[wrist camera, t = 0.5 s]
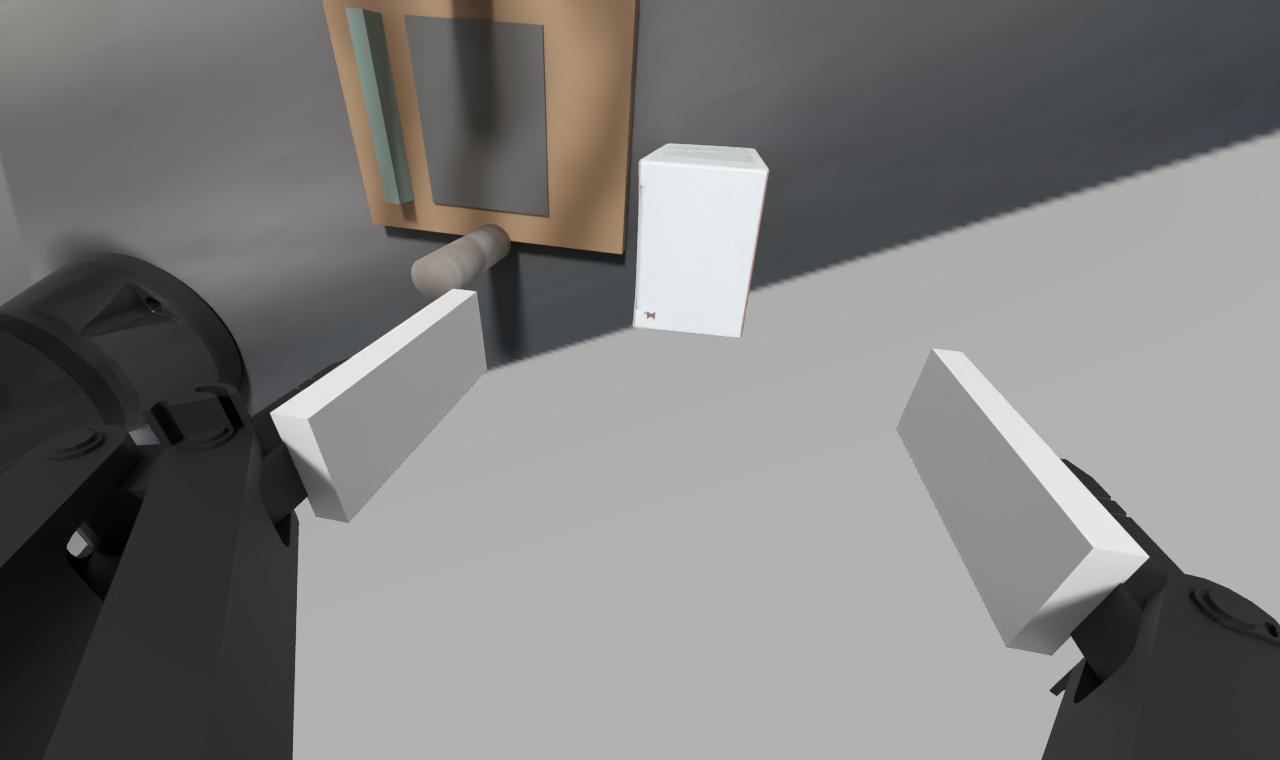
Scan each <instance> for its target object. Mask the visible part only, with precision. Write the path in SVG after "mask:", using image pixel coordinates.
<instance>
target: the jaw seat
mask: <svg viewBox="0 0 1280 760" xmlns="http://www.w3.org/2000/svg"><path fill="white" fill-rule="evenodd" d="M322 1H323V6H324V10H325V15H326V19H327V23H328V28H329V32H330V37H331V41H332V46H333V50H334V54H335V59H336V63H337V68H338V72H339V76H340V81H341V85H342V90H343V94H344V98H345V103H346V107H347V112H348V116H349V120H350V125H351V129H352V134H353V138H354V143H355V147H356V151H357V156H358V160H359V165H360V169H361V173H362V178H363V182H364V187H365V191H366V195H367V200H368V204H369V209H370V213H371V217H372V222H373V224H376V225H384V226H392V227H400V228H409V229H417V230H425V231H434V232H442V233H450V234H458V235H465V236H463V237H461V238H459V239H457V240H455V241H454V242H452V243H450V244H448V245H446V246H444V247H442V248H440V249H438V250H436V251H434V252H432V253H430V254H429V255H427V256H425V257H423V258H421V259H419V260H417V261H416V262H415V263H414V264H413V266H412V270H411V275H412V280H413V283H414V285H415V286H416V288H417V289H418V290H419V291H420V292H421V293H422V294H423V295H424V296H426V297H427V298H430V299H432V300H437V299H438V298H440V297H441V296H443V295H444V294H446V293H447V292H449V291H450V290H452V289H461V288H462V287H463V286H465V285H466V284H468V283H469V282H470V281H472V280H473V279H475V278H476V277H477V276H479V275H480V274H482V273H483V272H485V271H486V270H487V269H489V268H490V267H492V266H493V265H494V264H496V263H497V262H499V261H500V260H501V259H503V258H504V257H506V256H507V255H508V254H509V252H510V249H511V241H516V242H525V243H533V244H541V245H549V246H558V247H566V248H574V249H583V250H591V251H599V252H607V253H616V254H622V253H623V252H624V251H625V245H626V228H627V210H628V192H629V174H630V157H631V139H632V121H633V103H634V86H635V68H636V50H637V32H638V15H639V0H322Z"/></svg>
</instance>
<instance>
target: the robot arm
mask: <svg viewBox="0 0 1280 760" xmlns="http://www.w3.org/2000/svg"><path fill="white" fill-rule="evenodd" d="M486 370H487V366H486V359H485V351H484V344H483V336H482V328H481V321H480V313H479V306H478V298H477V292H475V291H467V290H459V289H452V290H450V291H449V292H447V293H446V294H444V295H443V296H441V297H440V298H438V299H437V300H436V301H434V302H433V303H431V304H430V305H428V306H427V307H425V308H424V309H422V310H421V311H419V312H418V313H416V314H415V315H413V316H412V317H410V318H409V319H408V320H406V321H405V322H403V323H402V324H400V325H399V326H397V327H396V328H394V329H393V330H391V331H390V332H388V333H387V334H385V335H384V336H382V337H381V338H380V339H378V340H377V341H375V342H374V343H372V344H371V345H369V346H368V347H366V348H365V349H363V350H362V351H360V352H359V353H357V354H356V355H354V356H353V357H350V358H348V359H345V360H342V361H340V362H337V363H335V364H332V365H330V366H328V367H326V368H325V369H323V370H322V371H320V372H319V373H317V374H316V375H314V376H313V377H312V380H311V379H308V380H307V381H305V382H304V383H302V384H301V385H299V386H298V389H293V390H292V391H290V392H289V393H287V394H286V395H284V396H283V397H281V398H280V399H278V400H277V401H275V402H274V403H272V404H271V405H269V406H268V407H266V408H264V409H263V410H261V411H260V412H258V413H257V414H255V415H254V416H252V417H251V418H250V416H249V414H248V412H247V410H246V408H245V406H244V404H243V402H242V400H241V397H240V395H239V393H238V391H237V390H238V388H239V386H240V383H241V379H242V366H241V361H240V357H239V354H238V351H237V349H236V346H235V344H234V342H233V340H232V338H231V336H230V334H229V333H228V331H227V330H226V328H225V327H224V325H223V324H222V322H221V321H220V320H219V318H218V317H217V316H216V315H215V313H214V312H213V311H212V310H211V309H210V308H209V307H208V305H207V304H206V303H205V302H204V301H203V300H202V299H201V298H199V297H198V296H197V295H196V294H195V293H194V292H193V291H192V290H190V289H189V288H188V287H187V286H186V285H184V284H183V283H182V282H180V281H179V280H177V279H176V278H174V277H173V276H172V275H170V274H168V273H167V272H165V271H163V270H161V269H160V268H158V267H156V266H154V265H152V264H150V263H147V262H145V261H142V260H140V259H137V258H134V257H130V256H126V255H120V254H103V255H98V256H94V257H90V258H86V259H82V260H78V261H74V262H71V263H68V264H66V265H64V266H62V267H60V268H58V269H57V270H55V271H54V272H52V273H51V274H49V275H48V276H46V277H44V278H43V279H41V280H40V281H38V282H37V283H35V284H34V285H32V286H30V287H29V288H27V289H26V290H24V291H23V292H21V293H20V294H18V295H17V296H15V297H14V298H12V299H10V300H9V301H7V302H6V303H4V304H3V305H1V306H0V760H292V757H293V756H292V755H293V720H294V683H295V646H296V609H297V570H298V534H299V521H298V518H297V515H296V513H295V511H294V509H295V508H296V507H297V506H298V505H299V504H300V503H301V502H302V501H303V500H304V499H305V498H306V497H308V500H309V502H310V504H311V506H312V508H313V511H314V513H315V515H316V517H321V518H326V519H332V520H337V521H342V522H347V523H349V522H350V521H351V520H352V518H353V517H354V516H355V515H356V514H357V513H358V512H359V511H360V509H361V508H362V507H363V506H364V505H365V504H366V503H367V502H368V501H369V500H370V498H371V497H372V496H373V495H374V494H375V493H376V492H377V490H379V488H380V487H381V486H382V485H383V484H384V483H385V482H386V481H387V480H388V478H389V477H390V476H391V475H392V474H393V473H394V472H395V471H396V470H397V469H398V468H399V466H400V465H401V464H402V463H403V462H404V461H405V460H406V458H408V456H409V455H410V454H411V453H412V452H413V451H414V450H415V449H416V448H417V446H418V445H419V444H420V443H421V442H422V441H423V440H424V439H425V438H426V437H427V435H428V434H429V433H430V432H431V431H432V430H433V429H434V428H435V427H436V426H437V424H438V423H439V422H440V421H441V420H442V419H443V418H444V417H445V416H446V414H447V413H448V412H449V411H450V410H451V409H452V408H453V407H454V406H455V404H456V403H457V402H458V401H459V400H460V399H461V398H462V397H463V396H464V395H465V393H466V392H467V391H468V390H469V389H470V388H471V386H473V385H474V383H475V382H476V381H477V380H478V379H479V378H480V377H481V376H482V375H483V374H484V372H485V371H486ZM146 427H151V429H152V430H153V432H154V433H155V435H156V437H157V438H158V440H159V441H160V443H161V444H155V445H138V446H137V445H136V443H135V442H134V440H133V439H132V437H131V436H130V434H129V433H128V432H131V431H135V430H138V429H142V428H146ZM897 431H898V433H899V435H900V437H901V439H902V441H903V443H904V445H905V447H906V449H907V451H908V453H909V455H910V457H911V458H912V461H913V463H914V465H915V467H916V469H917V471H918V473H919V475H920V477H921V479H922V481H923V483H924V484H925V487H926V488H927V490H928V492H929V494H930V496H931V499H932V501H933V502H934V504H935V507H936V508H937V510H938V512H939V514H940V516H941V518H942V520H943V522H944V524H945V526H946V528H947V530H948V532H949V534H950V536H951V538H952V540H953V542H954V544H955V546H956V548H957V550H958V552H959V554H960V556H961V558H962V560H963V562H964V564H965V566H966V568H967V570H968V572H969V574H970V576H971V577H972V580H973V582H974V584H975V586H976V588H977V590H978V592H979V594H980V596H981V598H982V600H983V602H984V604H985V606H986V608H987V610H988V612H989V614H990V616H991V618H992V620H993V622H994V624H995V626H996V627H997V630H998V632H999V634H1000V635H1001V638H1002V639H1003V641H1004V643H1005V645H1006V647H1009V648H1015V649H1020V650H1025V651H1031V652H1036V653H1041V654H1047V655H1053V654H1054V653H1055V652H1056V651H1057V649H1059V647H1060V646H1061V645H1063V644H1064V643H1065V641H1067V640H1068V639H1069V638H1070V637H1071V636H1072V638H1073V640H1074V641H1075V643H1076V644H1077V646H1078V648H1079V649H1080V651H1081V652H1082V654H1083V655H1084V658H1083V659H1082V660H1081V661H1080V662H1079V663H1078V664H1077V665H1076V666H1074V667H1073V668H1072V669H1071V670H1070V671H1069V672H1068V673H1067V674H1066V675H1065V676H1064V677H1063V678H1062V679H1061V680H1060V681H1058V682H1057V683H1056V684H1055V685H1054V686H1053V687H1052V688H1051V690H1050V692H1052V693H1053V694H1055V695H1056V696H1057V695H1059V694H1060V693H1061V692H1062V691H1063V690H1065V693H1064V696H1063V699H1062V702H1061V704H1060V707H1059V711H1058V713H1057V716H1056V719H1055V722H1054V725H1053V728H1052V731H1051V734H1050V737H1049V740H1048V742H1047V745H1046V748H1045V751H1044V754H1043V757H1042V760H1280V625H1279V624H1278V622H1277V621H1276V620H1275V619H1274V618H1272V617H1271V616H1270V615H1268V614H1267V613H1266V612H1265V611H1263V610H1262V609H1261V608H1259V607H1258V606H1257V605H1255V604H1254V603H1253V602H1251V601H1249V600H1248V599H1246V598H1244V597H1242V596H1241V595H1239V594H1237V593H1236V592H1234V591H1232V590H1230V589H1229V588H1226V587H1224V586H1221V585H1219V584H1217V583H1214V582H1212V581H1210V580H1207V579H1205V578H1200V577H1196V576H1192V575H1187V574H1184V573H1183V572H1182V571H1181V570H1180V569H1179V568H1178V566H1177V565H1176V564H1175V563H1174V562H1173V561H1172V560H1171V559H1170V558H1169V557H1168V556H1167V555H1166V554H1165V553H1164V552H1163V551H1162V550H1161V549H1160V548H1159V547H1158V546H1157V544H1156V543H1155V542H1154V541H1153V540H1151V538H1150V537H1149V536H1148V535H1147V534H1146V533H1145V532H1144V531H1143V530H1142V529H1141V528H1140V527H1139V526H1138V525H1137V524H1136V523H1135V522H1134V520H1133V519H1132V518H1130V517H1126V512H1125V511H1124V510H1123V509H1122V508H1121V507H1120V506H1119V505H1118V504H1117V503H1116V502H1115V501H1112V500H1111V496H1109V494H1108V493H1107V492H1106V491H1105V490H1104V489H1103V488H1102V487H1101V486H1100V485H1099V484H1098V483H1097V482H1096V481H1095V480H1094V479H1093V478H1092V477H1091V476H1089V475H1088V474H1086V473H1085V472H1084V471H1082V470H1080V469H1079V468H1078V467H1076V466H1075V465H1073V464H1072V463H1070V462H1069V461H1068V460H1066V459H1059V458H1058V456H1057V455H1056V454H1055V453H1054V452H1053V451H1052V450H1051V449H1050V448H1049V447H1048V446H1047V444H1046V443H1045V442H1044V441H1043V440H1042V439H1041V438H1040V437H1039V436H1038V435H1037V434H1036V433H1035V431H1034V430H1033V429H1032V428H1031V427H1030V426H1029V425H1028V424H1027V423H1026V422H1025V420H1024V419H1023V418H1022V417H1021V416H1020V415H1019V414H1018V413H1017V412H1016V411H1015V410H1014V408H1013V407H1012V406H1011V405H1010V404H1009V403H1008V402H1007V401H1006V400H1005V399H1004V398H1003V396H1002V395H1001V394H1000V393H999V392H998V391H997V390H996V389H995V388H994V387H993V386H992V385H991V383H990V382H989V381H988V380H987V379H986V378H985V377H984V376H983V375H982V374H981V373H980V371H979V370H978V369H977V368H976V367H975V366H974V365H973V364H972V363H971V362H970V360H969V359H968V358H967V357H966V356H965V355H964V354H963V353H962V352H957V351H948V350H940V349H932V350H931V352H930V354H929V357H928V359H927V361H926V364H925V366H924V368H923V370H922V372H921V374H920V377H919V379H918V381H917V383H916V386H915V388H914V390H913V392H912V395H911V397H910V399H909V402H908V404H907V406H906V408H905V410H904V413H903V415H902V417H901V420H900V421H899V424H898V426H897ZM75 531H77V532H78V533H79V534H80V536H81V537H82V538H83V539H84V540H85V541H86V543H87V544H88V545H87V546H86V547H85V548H84V549H83V551H82V552H81V553H80V554H79V555H78V556H76V557H75V556H74V555H72V554H71V553H70V552H69V551H68V550H67V544H68V542H69V540H70V539H71V537H72V535H73V534H74V532H75Z"/></svg>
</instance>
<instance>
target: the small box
mask: <svg viewBox="0 0 1280 760" xmlns="http://www.w3.org/2000/svg"><path fill="white" fill-rule="evenodd" d="M638 167H639V216H638V243H637V270H636V293H635V306H634V318H633V326H634V327H637V328H647V329H655V330H665V331H675V332H684V333H694V334H703V335H713V336H723V337H734V338H740V337H742V331H743V325H744V320H745V313H746V307H747V302H748V296H749V290H750V284H751V278H752V272H753V266H754V260H755V254H756V248H757V242H758V236H759V230H760V224H761V218H762V212H763V206H764V200H765V194H766V188H767V182H768V176H769V169H768V167H767V166H766V165H765V163H764V162H763V160H762V159H761V157H760V156H759V154H758V153H757V151H756V150H755V149H751V148H738V147H724V146H707V145H689V144H666V145H664V146H663V147H661V148H659V149H657V150H656V151H654V152H652V153H651V154H649V155H647V156H646V157H644V158H642V159H641V160H640V161H639V165H638Z"/></svg>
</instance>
